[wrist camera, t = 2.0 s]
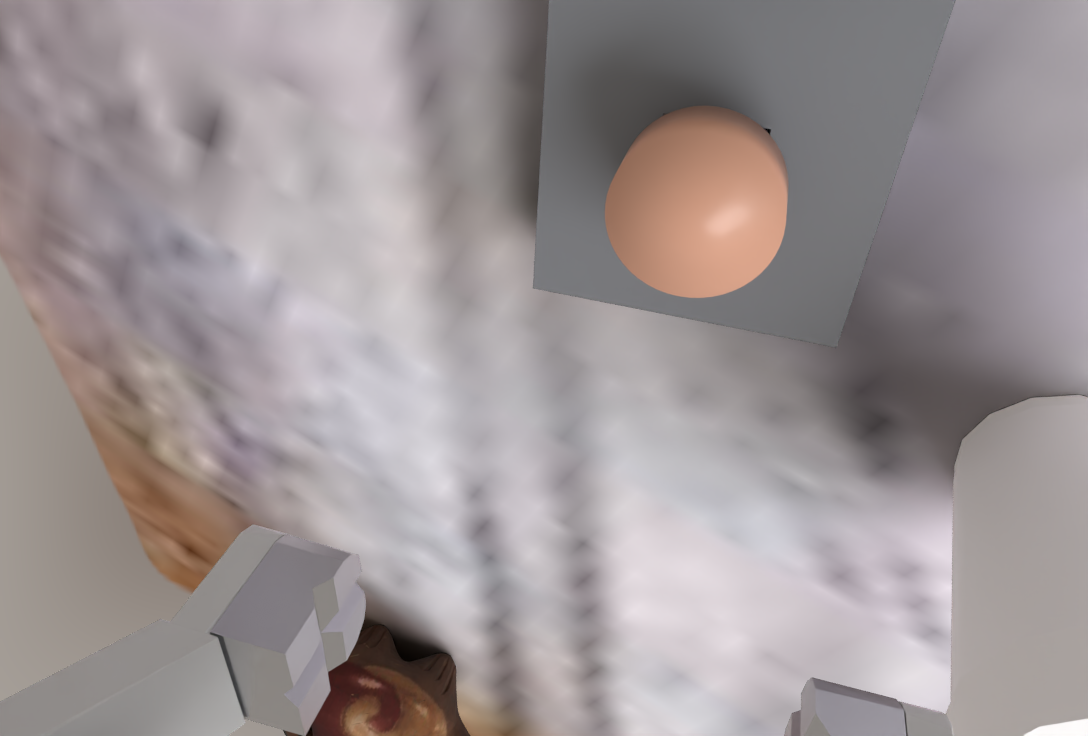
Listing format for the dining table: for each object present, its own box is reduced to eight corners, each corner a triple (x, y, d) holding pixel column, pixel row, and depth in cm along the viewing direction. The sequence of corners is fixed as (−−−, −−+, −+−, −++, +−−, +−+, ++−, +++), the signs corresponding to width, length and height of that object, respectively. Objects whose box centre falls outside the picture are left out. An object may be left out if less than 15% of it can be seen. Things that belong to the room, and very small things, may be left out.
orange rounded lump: (808, 89, 22) (807, 146, 18) (771, 236, 25) (763, 312, 21) (647, 66, 23) (615, 117, 19) (628, 212, 26) (596, 280, 22)
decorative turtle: (512, 737, 50) (459, 869, 44) (305, 648, 53) (230, 761, 47) (528, 660, 44) (469, 802, 38) (292, 563, 47) (203, 682, 41)
